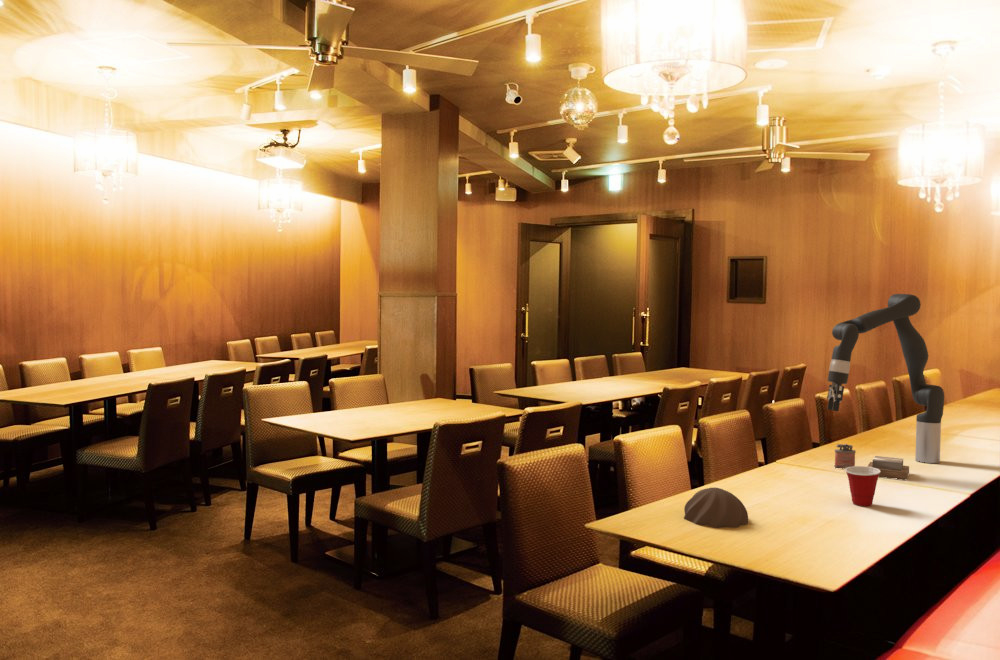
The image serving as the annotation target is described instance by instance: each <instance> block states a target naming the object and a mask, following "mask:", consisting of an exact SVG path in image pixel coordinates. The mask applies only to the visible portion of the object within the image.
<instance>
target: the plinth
mask: <svg viewBox="0 0 1000 660" xmlns="http://www.w3.org/2000/svg"><path fill="white" fill-rule="evenodd" d="M866 467H873V468H877V469H879V470H880V471H881V472H880V473H879V477H878V478H882V477H887V478H886V479H891V478H897V479H896V480H899V479H907V480H908V478H909V475H910V465H904V458H898V457H888V456H878V455H875V456H874V457H873V459H872V461H870V462H869V463H868V465H867V466H866ZM908 474H909V475H908ZM907 477H908V478H907Z"/></svg>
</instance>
